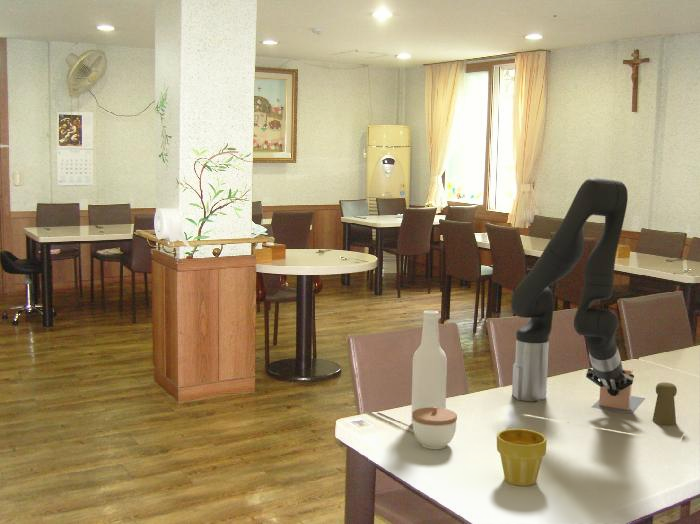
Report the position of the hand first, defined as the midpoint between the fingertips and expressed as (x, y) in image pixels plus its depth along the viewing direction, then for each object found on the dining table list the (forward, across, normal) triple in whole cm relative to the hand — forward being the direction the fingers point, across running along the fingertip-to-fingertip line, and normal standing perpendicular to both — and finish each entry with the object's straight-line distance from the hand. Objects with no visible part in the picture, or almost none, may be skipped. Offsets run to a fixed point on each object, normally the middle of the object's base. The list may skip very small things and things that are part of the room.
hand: (614, 393), depth 218 cm
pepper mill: (0, -14, +7) cm, 16 cm away
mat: (+8, 0, -1) cm, 8 cm away
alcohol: (-25, +37, +32) cm, 56 cm away
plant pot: (-41, +5, +48) cm, 63 cm away
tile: (+4, 0, +2) cm, 5 cm away
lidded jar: (-34, +30, +42) cm, 61 cm away
